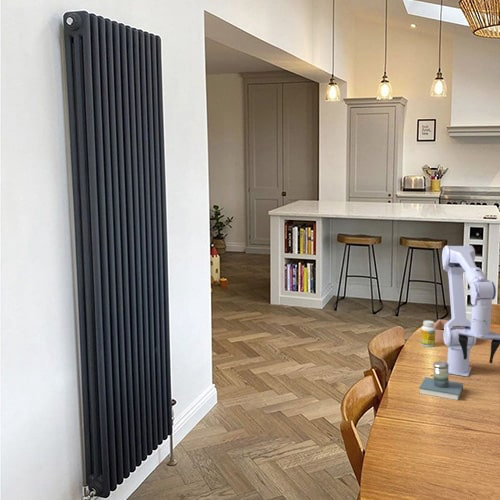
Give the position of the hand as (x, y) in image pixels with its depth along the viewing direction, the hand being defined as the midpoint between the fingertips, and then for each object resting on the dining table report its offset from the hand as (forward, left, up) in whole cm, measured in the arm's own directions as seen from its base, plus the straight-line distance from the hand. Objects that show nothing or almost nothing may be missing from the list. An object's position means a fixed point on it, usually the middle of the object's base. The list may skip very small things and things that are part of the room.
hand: (478, 360), depth 198 cm
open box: (-58, -15, -10) cm, 61 cm away
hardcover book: (+5, -10, -11) cm, 16 cm away
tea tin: (+5, -10, -8) cm, 14 cm away
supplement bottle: (-41, -23, -11) cm, 48 cm away
